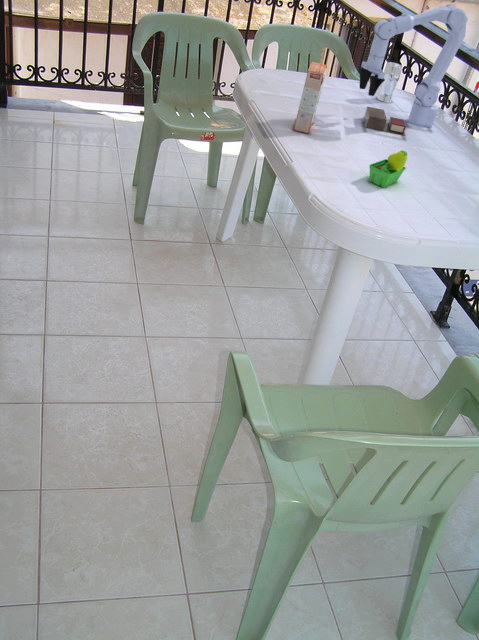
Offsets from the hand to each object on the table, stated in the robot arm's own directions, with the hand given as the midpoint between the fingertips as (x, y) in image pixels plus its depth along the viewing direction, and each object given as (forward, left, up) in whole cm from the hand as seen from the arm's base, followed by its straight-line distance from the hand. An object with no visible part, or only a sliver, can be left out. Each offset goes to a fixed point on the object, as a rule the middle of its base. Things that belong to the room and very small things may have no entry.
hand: (366, 92), depth 259 cm
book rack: (-8, +11, -10) cm, 17 cm away
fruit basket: (-4, +64, -10) cm, 65 cm away
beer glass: (-13, -33, -10) cm, 37 cm away
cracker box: (+22, +26, -10) cm, 35 cm away
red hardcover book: (-13, +11, -8) cm, 19 cm away
